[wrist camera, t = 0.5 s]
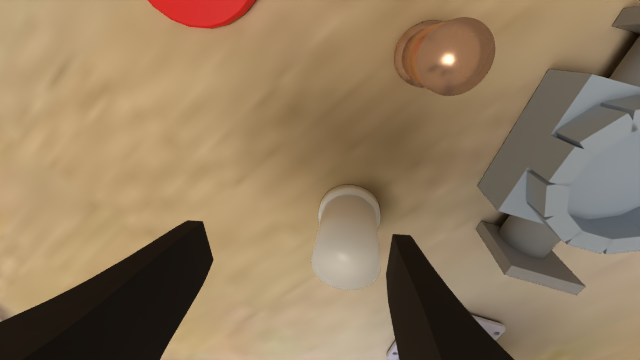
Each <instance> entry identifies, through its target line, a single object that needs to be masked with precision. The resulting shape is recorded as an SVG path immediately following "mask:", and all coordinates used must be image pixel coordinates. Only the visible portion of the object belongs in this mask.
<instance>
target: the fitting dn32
mask: <svg viewBox="0 0 640 360" xmlns="http://www.w3.org/2000/svg"><path fill="white" fill-rule="evenodd" d="M494 55H495V42H494V38H493V35H492V33H491V31H490V30H489V28H488V27H487V26H486V25H485V24H484V23H482V22H481V21H479V20H476V19H473V18H466V17H463V18H456V19H452V20H449V21H446V22H442V21H438V20H430V21H425V22H422V23H419V24H417V25H415V26H413V27H411V28H410V29H409V30H408V31H406V32H405V33H404V35H403V36H402V37H401V39H400V40H399V42H398V44H397V46H396V50H395V55H394V63H395V67H396V70H397V72H398V74H399V75H400V77H401V78H402V79H403V80H405V81H406V82H407V83H409V84H411V85H413V86H416V87H426V88H428V89H429V90H431V91H433V92H435V93H437V94H440V95H445V96H453V95H458V94H462V93H464V92H467V91H469V90H470V89H472V88H473V87H475V86H476V85H477V84H478V83H480V82H481V81H482V79H483V78H484V77H485V76H486V74H487V73H488V71H489V70H490V68H491V65H492V63H493V60H494Z"/></svg>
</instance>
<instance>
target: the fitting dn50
mask: <svg viewBox="0 0 640 360" xmlns="http://www.w3.org/2000/svg"><path fill="white" fill-rule="evenodd" d="M318 220H319V223H320V224H319V229H318V233H317V237H316V242H315V246H314V250H313V255H312V259H311V263H312V268H313V271H314V273H315V274H316V275H317V277H318V278H319V279H320V280H321V281H323V282H324V283H326V284H327V285H329V286H332V287H334V288H338V289H343V290H356V289H361V288H364V287H366V286H368V285H370V284H371V283H373V282H374V281H375V280H376V279H377V277H378V275H379V273H380V270H381V261H380V250H379V239H378V227H379V224H380V208H379V204H378V201H377V199H376V198H375V196H374V195H373V194H372V193H371V192H369V191H368V190H366V189H365V188H363V187H360V186H356V185H341V186H338V187H335V188H333V189H331V190H330V191H328V192H327V193H326V194H325V196H324V197H323V199H322V201H321V204H320V208H319V212H318Z"/></svg>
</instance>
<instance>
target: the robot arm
mask: <svg viewBox="0 0 640 360" xmlns="http://www.w3.org/2000/svg"><path fill="white" fill-rule="evenodd" d="M212 262H213V256H212V253H211V249H210V246H209V242H208V238H207V235H206V231H205V228H204V224H203V221H189V220H188V221H186V222H184V223H182V224H181V225H179V226H177V227H175V228H174V229H172V230H171V231H169V232H167V233H166V234H164V235H163V236H161V237H159V238H158V239H156V240H155V241H153V242H151V243H150V244H148V245H146V246H145V247H143V248H142V249H140V250H138V251H137V252H135V253H134V254H132V255H130V256H129V257H127V258H125V259H124V260H122V261H120V262H118V263H117V264H115V265H113V266H112V267H110V268H108V269H106V270H105V271H103V272H101V273H100V274H98V275H96V276H94V277H92V278H91V279H89V280H87V281H85V282H83V283H81V284H79V285H78V286H76V287H74V288H72V289H70V290H68V291H66V292H64V293H62V294H60V295H58V296H56V297H54V298H52V299H50V300H48V301H46V302H44V303H41V304H39V305H37V306H35V307H33V308H30V309H28V310H26V311H24V312H22V313H19V314H17V315H15V316H13V317H11V318H8V319H6V320H4V321H2V322H0V360H160V358H161V356H162V354H163V353H164V351H165V349H166V347H167V345H168V343H169V342H170V340H171V338H172V337H173V335H174V333H175V331H176V330H177V328H178V326H179V325H180V323H181V321H182V320H183V318H184V316H185V315H186V313H187V311H188V310H189V308H190V306H191V305H192V303H193V301H194V299H195V298H196V296H197V294H198V292H199V291H200V289H201V287H202V285H203V283H204V281H205V279H206V277H207V275H208V272H209V270H210V267H211V265H212ZM386 279H387V293H388V303H389V308H390V314H391V319H392V325H393V330H394V335H395V340H396V341H395V342H394V344H393V345H392V347H391V348H390V350H389V351H388V353H387V359H388V360H514V359H513V358H512V357H511V356H510V355H509V354H508V353H507V352H506V351H505V350H504V349H503V348H502V347H501V346H500V345H499V344H498V343H497V342H496V340H497V339H498V338H499V337H500V336H501V335H502V334H503V333H504V331H505V327H504V325H503V324H501V323H498V322H494V321H491V320H487V319H484V318H480V317H477V316H473V315H471V314H470V313H469V311H468V310H467V309H466V308H465V307H464V306H463V304H462V303H461V302H460V301H459V300H458V299H457V297H456V296H455V295H454V294H453V292H452V291H451V290H450V289H449V287H448V286H447V285H446V284H445V282H444V281H443V280H442V278H441V277H440V276H439V275H438V273H437V272H436V271H435V269H434V268H433V267H432V265H431V264H430V262H429V261H428V260H427V258H426V257H425V255H424V254H423V253H422V251H421V250H420V248H419V247H418V245H417V244H416V242H415V241H414V239H413V238H412V237H411V236H410V235H398V234H393V236H392V242H391V248H390V254H389V260H388V266H387V272H386Z"/></svg>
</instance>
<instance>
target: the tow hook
mask: <svg viewBox="0 0 640 360" xmlns="http://www.w3.org/2000/svg"><path fill="white" fill-rule="evenodd" d="M148 1H149V2H150V3H151V4H152V6H153V7H155V8H156V9H157V10H159V11H160V12H161V13H163V14H164V15H166V16H167V17H168V18H170V19H171V20H174V21H176V22H179V23H181V24H184V25H186V26H189V27H199V28H212V29H213V28H217V27H221V26H225V25H229V24H231V23H232V22H234V21H235V20H237V19H238V18H240V17H241V16H243V15H244V14H245V13H246V12H247V11H248V9H249V8H250V7H251V6H252V4H253V3H254V2H255V1H256V0H148Z"/></svg>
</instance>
